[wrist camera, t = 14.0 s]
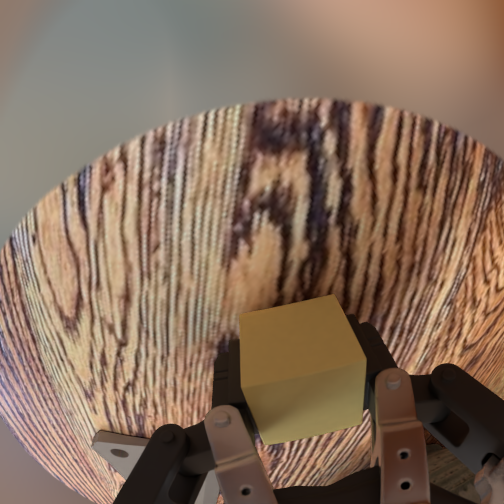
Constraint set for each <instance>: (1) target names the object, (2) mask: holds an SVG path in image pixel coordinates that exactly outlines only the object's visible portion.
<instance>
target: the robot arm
mask: <svg viewBox="0 0 504 504" xmlns="http://www.w3.org/2000/svg"><path fill="white" fill-rule="evenodd" d="M346 318H347V320H348V322H349V324H350V326H351V328H352V330H353V332H354V334H355V336H356V338H357V340H358V342H359V344H360V346H361V348H362V350H363V352H364V354H365V356H366V359H367V362H366V381H365V395H364V408H363V410H367V409H369V411H370V414H371V421H370V422H371V463H370V468H369V469H365V470H362V471H359V472H355V473H353V474H351V475H349V476H348V477H346V478H344V479H342V480H340V481H338V482H336V483H333V484H331V485H329V486H293V487H287V488H281V489H274V488H273V486H272V483H271V481H270V479H269V477H268V475H267V472H266V470H265V468H264V466H263V463H262V461H261V459H260V457H259V454H258V452H257V449H256V447H255V437H254V434H258V433H259V431H258V429H257V426H256V424H255V422H254V419H253V417H252V414H251V412H250V409H249V406H248V404H247V401H246V399H245V396H244V394H243V391H242V389H241V373H240V339H234V340H229V352H227V353H220V354H219V356H218V357H217V359H216V361H215V363H214V378H213V379H214V381H213V394H212V408H211V410H210V411H209V412H208V413H207V414H206V416H205V419H204V420H203V421H202V422H200V423H198V424H196V425H193V426H190V427H188V428H185V429H183V428H182V427H180V426H179V425H176V424H166V425H163V426H161V427H159V428H158V429H157V430H156V431H155V432H154V433H153V435H152V437H151V438H150V440H149V442H148V444H147V445H146V447H145V449H144V451H143V452H142V454H141V456H140V457H139V459H138V461H137V463H136V464H135V466H134V468H133V470H132V471H131V473H130V475H129V476H128V478H127V480H126V482H125V483H124V485H123V487H122V488H121V490H120V492H119V494H118V495H117V497H116V499H115V500H114V502H113V504H195V501H196V499H197V497H198V495H199V492H200V490H201V488H202V486H203V483H204V481H205V479H206V477H207V474H208V472H209V471H212V470H214V471H215V475H216V478H217V481H218V484H219V487H220V491H221V494H222V497H223V500H224V503H225V504H478V503H475V502H473V501H471V500H468V499H466V498H464V497H461V496H459V495H457V494H455V493H452V492H450V491H448V490H446V489H444V488H442V487H439V486H437V485H435V484H433V483H431V482H429V472H428V461H427V452H426V443H425V436H424V428H423V427H425V428H426V429H427V430H428V431H429V432H430V433H431V434H432V435H433V436H434V437H435V438H436V439H437V440H438V441H439V442H441V443H442V444H443V445H444V446H445V447H446V448H447V449H448V450H449V451H450V452H451V453H452V454H453V455H454V456H456V457H457V458H458V459H459V460H460V461H461V462H462V463H463V464H464V465H465V466H466V467H467V468H468V469H470V470H471V471H472V472H473V473H474V474H475V478H474V488H475V490H476V492H477V493H478V494H479V496H480V504H504V400H502V399H501V398H500V397H498V396H497V395H496V394H494V393H493V392H492V391H490V390H489V389H488V388H486V387H485V386H484V385H482V384H481V383H480V382H478V381H477V380H476V379H474V378H473V377H472V376H470V375H469V374H468V373H466V372H465V371H463V370H462V369H461V368H459V367H458V366H456V365H454V364H449V363H445V364H441V365H439V366H437V367H436V368H435V369H434V370H433V371H432V374H428V375H409V374H408V373H407V372H406V371H405V370H403V369H400V368H398V366H397V365H396V363H395V361H394V359H393V358H392V356H391V354H390V352H389V350H388V349H387V347H386V345H385V344H384V342H383V340H382V338H381V337H380V335H379V333H378V331H377V330H376V328H375V327H374V326H372V325H371V324H369V323H368V322H364V323H361V324H359V323H358V321H357V319H356V317H355V315H354V314H350V315H346Z"/></svg>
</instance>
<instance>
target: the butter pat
mask: <svg viewBox="0 0 504 504" xmlns="http://www.w3.org/2000/svg"><path fill="white" fill-rule="evenodd" d="M239 328H240V373H241V389H242V391H243V394H244V396H245V399H246V401H247V404H248V406H249V409H250V412H251V414H252V417H253V419H254V422H255V424H256V426H257V429H258V431H259V434H260V436H261V439H262V441H263V443H264V445H271V444H277V443H283V442H288V441H294V440H299V439H304V438H308V437H313V436H318V435H322V434H326V433H330V432H334V431H338V430H342V429H346V428H349V427H353V426H356V425H360V424H362V418H363V408H364V395H365V381H366V362H367V359H366V356H365V354H364V352H363V350H362V348H361V346H360V344H359V342H358V340H357V338H356V336H355V334H354V332H353V330H352V328H351V326H350V324H349V322H348V320H347V318H346V316H345V314H344V312H343V310H342V308H341V306H340V304H339V302H338V300H337V298H336V296H335V294H331V295H327V296H323V297H318V298H314V299H310V300H305V301H301V302H296V303H292V304H287V305H283V306H278V307H273V308H268V309H264V310H259V311H254V312H249V313H244V314H240V315H239Z"/></svg>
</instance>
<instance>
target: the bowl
mask: <svg viewBox="0 0 504 504" xmlns="http://www.w3.org/2000/svg"><path fill="white" fill-rule="evenodd" d="M426 452H427V461H428V472H429V482H431V483H433V484H435V485H437V486H439V487H442V488H444V489H446V490H448V491H450V492H452V493H455V494H457V495H459V496H461V497H464V498H466V499H468V500H471V501H473V502H475V503H478V504H480V496H479V494H478V493H477V492H476V490H475V488H474V478H475V474H474V473H473V472H472V471H471V470H470V469H468V468H467V467H466V466H465V465H464V464H463V463H462V462H461V461H460V460H459V459H458V458H457V457H456V456H454V455H453V454H452V453H451V452H450V451H449V450H448V449H447V448H445V449H442V447H441V446H440V445H439V444H430V445H426Z"/></svg>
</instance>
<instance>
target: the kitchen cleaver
mask: <svg viewBox="0 0 504 504" xmlns="http://www.w3.org/2000/svg"><path fill="white" fill-rule="evenodd" d="M149 440H150V439H144V438H138V437H131V436H126V435H120V434H115V433H110V432H105V431H101V430H100V431H99V432H98V433H97V434H96V435H95V436H94V438H93V441H92V445H91V448H92V449H93V450H94V451H96V452H97V453H98V454H99V455H100V456H101V457H103V458H104V459H105V460H106V461H107V462H109V463H110V464H111V465H112V466H113V468H114V469H115V470H116V471H117V472H118V473H119V474H120V475H121V476H122V477H123V478H124V479H125V480H127V478H128V476H129V475H130V473H131V471H132V470H133V468H134V466H135V464H136V463H137V461H138V459H139V457H140V456H141V454H142V452H143V451H144V449H145V447H146V445H147V444H148V442H149ZM219 490H220V487H219V484H218V481H217V478H216V475H215V471H214V470H212V471H209V472H208V474H207V477H206V479H205V481H204V483H203V486H202V488H201V490H200V492H199V495H198V497H197V499H196V501H195V504H216V502H217V499H218V495H219Z"/></svg>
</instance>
